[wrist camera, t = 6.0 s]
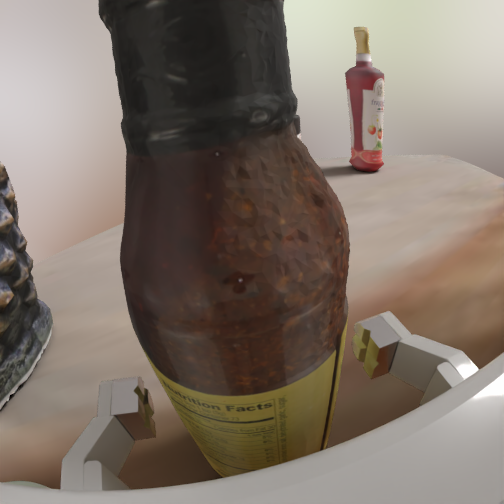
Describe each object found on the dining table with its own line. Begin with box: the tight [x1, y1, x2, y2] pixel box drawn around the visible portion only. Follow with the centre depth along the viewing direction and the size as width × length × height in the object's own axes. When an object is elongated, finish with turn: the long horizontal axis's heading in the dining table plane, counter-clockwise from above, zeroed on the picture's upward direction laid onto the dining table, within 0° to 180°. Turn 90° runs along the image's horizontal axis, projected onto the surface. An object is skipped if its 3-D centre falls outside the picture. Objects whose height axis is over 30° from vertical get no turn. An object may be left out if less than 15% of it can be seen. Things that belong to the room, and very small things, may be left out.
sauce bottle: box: [99, 0, 350, 478], centre depth 10 cm, size 6×6×20 cm
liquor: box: [345, 27, 384, 172], centre depth 51 cm, size 7×7×28 cm
